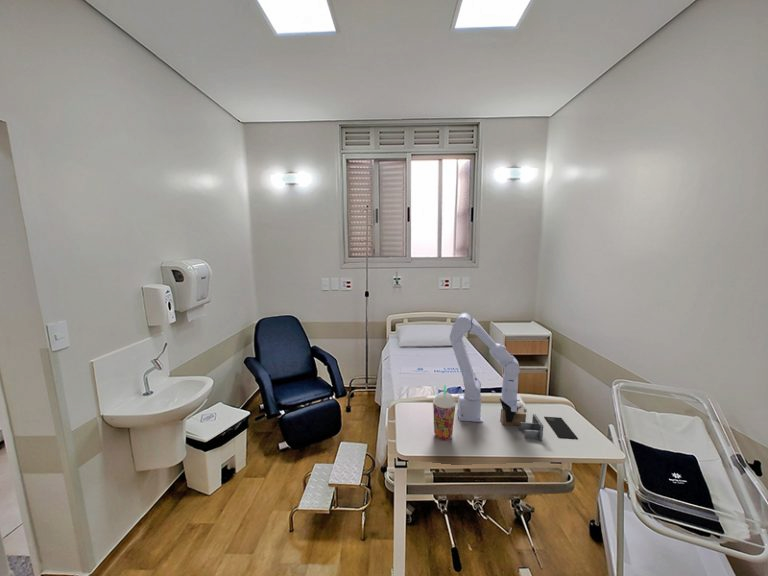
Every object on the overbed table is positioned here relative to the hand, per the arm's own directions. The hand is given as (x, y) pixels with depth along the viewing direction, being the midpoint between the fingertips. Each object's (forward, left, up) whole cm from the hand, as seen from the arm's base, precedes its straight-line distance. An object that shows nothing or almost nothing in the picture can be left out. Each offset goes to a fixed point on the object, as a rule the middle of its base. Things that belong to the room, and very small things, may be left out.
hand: (507, 419), depth 129 cm
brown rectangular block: (+2, 0, -1) cm, 2 cm away
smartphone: (+20, -1, -2) cm, 20 cm away
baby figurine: (+7, +13, -2) cm, 15 cm away
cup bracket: (+6, -7, -2) cm, 9 cm away
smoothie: (-27, -12, -2) cm, 30 cm away
